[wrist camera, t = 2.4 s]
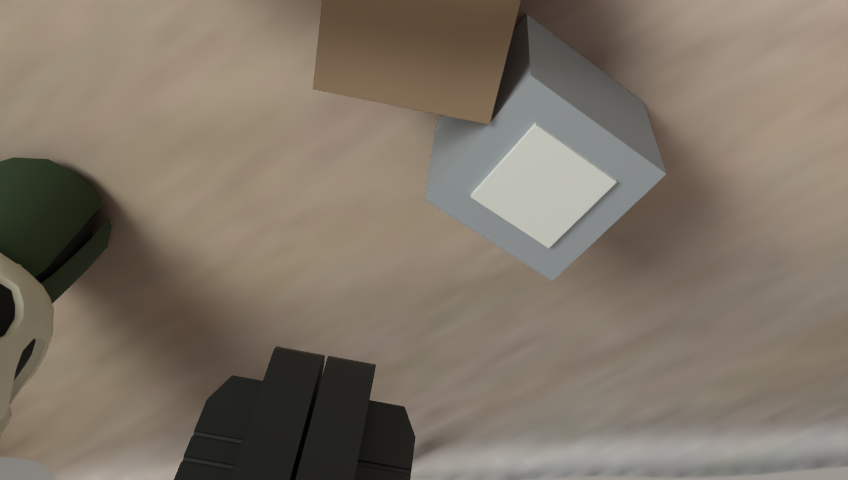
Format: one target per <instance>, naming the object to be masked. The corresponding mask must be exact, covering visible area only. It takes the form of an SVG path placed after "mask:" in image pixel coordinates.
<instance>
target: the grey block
mask: <svg viewBox="0 0 848 480" xmlns="http://www.w3.org/2000/svg"><path fill="white" fill-rule="evenodd" d="M665 175H666V171H665V168H664V165H663V161H662V158H661V155H660V152H659V149H658V146H657V143H656V140H655V137H654V133H653V130H652V127H651V124H650V121H649V118H648V115H647V112H646V109H645V105H644V102H643V101H642V100H640V99H639V98H638V97H636V96H635V95H634V94H632V93H631V92H630V91H628V90H627V89H626V88H624V87H623V86H622V85H620V84H619V83H618V82H616V81H615V80H614V79H612V78H611V77H610V76H608V75H607V74H606V73H604V72H603V71H602V70H600V69H599V68H598V67H596V66H595V65H594V64H592V63H591V62H590V61H588V60H587V59H586V58H584V57H583V56H582V55H580V54H579V53H578V52H576V51H575V50H574V49H572V48H571V47H570V46H568V45H567V44H566V43H564V42H563V41H562V40H560V39H559V38H558V37H556V36H555V35H554V34H553V33H551V32H550V31H549V30H547V29H546V28H545V27H543V26H542V25H541V24H539V23H538V22H537V21H535V20H534V19H533V18H531V17H530V16H529V15H526V16H525V17H524V18H523V20H522V21H521V22H520V23H519V25H518V26H517V27H516V28H515V30H514V31H513V34H512V38H511V42H510V46H509V50H508V54H507V58H506V62H505V66H504V70H503V74H502V78H501V82H500V85H499V89H498V93H497V97H496V101H495V105H494V109H493V113H492V117H491V121H490V125H489V124H484V123H479V122H474V121H469V120H464V119H459V118H454V117H449V116H444V117H443V118H442V119H441V121H440V122H439V123H438V124H437V126H436V128H435V134H434V141H433V147H432V154H431V160H430V166H429V173H428V179H427V186H426V192H425V200H427V201H428V202H430V203H431V204H433V205H434V206H436V207H437V208H439V209H441V210H442V211H444V212H445V213H447V214H448V215H450V216H452V217H453V218H455V219H456V220H458V221H459V222H461V223H462V224H464V225H466V226H467V227H469V228H470V229H472V230H473V231H475V232H476V233H478V234H480V235H481V236H483V237H484V238H486V239H487V240H489V241H490V242H492V243H494V244H495V245H497V246H498V247H500V248H501V249H503V250H505V251H506V252H508V253H509V254H511V255H512V256H514V257H515V258H517V259H519V260H520V261H522V262H523V263H525V264H526V265H528V266H529V267H531V268H533V269H534V270H536V271H537V272H539V273H540V274H542V275H544V276H545V277H547V278H548V279H550V280H551V281H553V280H554V279H555V278H556V277H557V276H558V275H560V274H561V273H562V272H563V271H564V270H565V269H566V268H567V267H568V266H569V265H570V264H571V263H572V262H573V261H574V260H575V259H577V258H578V257H579V256H580V255H581V254H582V253H583V252H584V251H585V250H586V249H587V248H588V247H589V246H590V245H591V244H593V243H594V242H595V241H596V240H597V239H598V238H599V237H600V236H601V235H602V234H603V233H604V232H605V231H606V230H607V229H608V228H610V227H611V226H612V225H613V224H614V223H615V222H616V221H617V220H618V219H619V218H620V217H621V216H622V215H623V214H624V213H626V212H627V211H628V210H629V209H630V208H631V207H632V206H633V205H634V204H635V203H636V202H637V201H638V200H639V199H640V198H641V197H643V196H644V195H645V194H646V193H647V192H648V191H649V190H650V189H651V188H652V187H653V186H654V185H655V184H656V183H657V182H659V181H660V180H661V179H662V178H663V177H664V176H665Z"/></svg>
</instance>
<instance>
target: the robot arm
mask: <svg viewBox="0 0 848 480" xmlns="http://www.w3.org/2000/svg"><path fill="white" fill-rule="evenodd" d="M324 359H325V356H324V355H320V354H314V353H309V352H303V351H298V350H293V349H287V348H282V347H275V349H274V351H273V354H272V356H271V359H270V362H269V365H268V368H267V371H266V374H265V377H264V380H263V381H260V380H255V379H249V378H244V377H238V376H233V375H232V376H231V377H230V378H229V379H228V380H227V381H226V382H225V383H224V384H223V385H222V386H221V387H220V388H219V389H218V390H217V391H215V392H214V393H213V394H212V395H211V396H210V397H209V398H208V399H207V401H206V403H205V406H204V408H203V411H202V413H201V415H200V418H199V420H198V423H197V425H196V428H195V430H194V435H193V436H192V437H191V440H190V442H189V444H188V447H187V449H186V452H185V454H184V459H183V462H181V464H180V466H179V469H178V471H177V473H176V476H175V478H174V480H410V477H411V475H410V474H411V469H412V460H413V452H414V444H415V435H414V432H413V429H412V426H411V424H410V421H409V418H408V415H407V412H406V409H405V407H403V406H398V405H392V404H387V403H381V402H376V401H371V400H369V399H370V394H371V388H372V383H373V378H374V372H375V367H376V365H375V364H370V363H364V362H359V361H353V360H348V359H343V358H337V357H332V356H328V358H327V361H326V365H325V369H324V373H323V368H324ZM322 375H323V376H322Z"/></svg>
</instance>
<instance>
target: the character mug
mask: <svg viewBox="0 0 848 480" xmlns="http://www.w3.org/2000/svg"><path fill="white" fill-rule="evenodd" d="M101 205H102V201H101V198H100V196H99V195H98V194H97V193H96V192H95V191H94V190H93V189H92V188H91V187H90V186H89V185H88V184H87V183H86V182H85V181H84V180H83V179H82V178H81V177H80V176H79V175H78V174H76V173H74V172H72V171H70V170H68V169H66V168H64V167H62V166H60V165H58V164H56V163H54V162H52V161H50V160H48V159H31V158H11V159H7V160H4V161H1V162H0V436H1V434H2V433H3V431H4V430H5V428H6V427H7V425H8V423H9V420H10V418H11V415H12V414H11V409H10V404H11V403H12V401H13V400H14V398H15V397H16V395H17V394H18V393H19V391H20V390H21V388H22V387H23V386H24V385H25V384H26V382H27V381H28V380H29V379H30V378H31V377H32V376H33V375H34V373H35V372H36V370H37V369H38V367H39V365H40V364H41V362H42V360H43V359H44V357H45V355H46V352H47V349H48V346H49V343H50V340H51V337H52V334H53V316H54V308H53V305H52V303H53V302H54V301H55V300H56V299H58V298H59V297H60V296H61V295H62V294H63V293H64V292H65V291H66V290H67V289H68V288H69V287H70V286H71V285H72V284H73V283H74V282H75V281H76V280H77V279H78V278H79V277H80V276H81V275H82V274H83V273H84V272H85V271H86V270H87V269H88V268H89V267H90V266H91V264H92V263H93V262H94V261H95V260H96V259H97V258H98V257H99V255H100V254H101V253H102V252H103V251H104V250H105V249H106V248H107V246H108V241H109V236H110V230H111V224H110V222H109V220H108V221H107V222H106V223H105V224H104V225H103V226H102V228H101V229H100V230H99V231H98V232H97V233H96V234H95V235H94V236H93V233H92V222H91V221H90V218H91V217H92V216H93V214H94V213H95V212H96V211H97V210H98V208H99V207H100V206H101Z"/></svg>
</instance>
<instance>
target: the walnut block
mask: <svg viewBox="0 0 848 480" xmlns="http://www.w3.org/2000/svg"><path fill="white" fill-rule="evenodd" d="M520 2H521V0H322V8H321V18H320V27H319V37H318V46H317V56H316V65H315V75H314V84H313V89H314V90H319V91H324V92H329V93H334V94H339V95H344V96H349V97H354V98H359V99H364V100H369V101H374V102H379V103H384V104H389V105H394V106H399V107H404V108H409V109H414V110H419V111H424V112H429V113H434V114H439V115H444V116H449V117H454V118H459V119H464V120H469V121H474V122H479V123H484V124H489V125H490V121H491V117H492V113H493V109H494V105H495V101H496V97H497V93H498V89H499V85H500V82H501V78H502V74H503V70H504V66H505V62H506V58H507V54H508V50H509V46H510V42H511V38H512V34H513V30H514V26H515V22H516V18H517V14H518V10H519V6H520Z"/></svg>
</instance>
